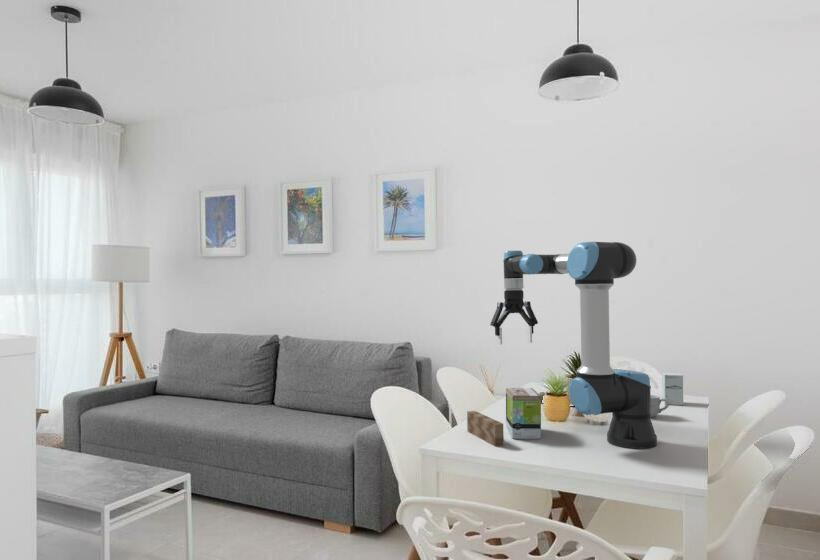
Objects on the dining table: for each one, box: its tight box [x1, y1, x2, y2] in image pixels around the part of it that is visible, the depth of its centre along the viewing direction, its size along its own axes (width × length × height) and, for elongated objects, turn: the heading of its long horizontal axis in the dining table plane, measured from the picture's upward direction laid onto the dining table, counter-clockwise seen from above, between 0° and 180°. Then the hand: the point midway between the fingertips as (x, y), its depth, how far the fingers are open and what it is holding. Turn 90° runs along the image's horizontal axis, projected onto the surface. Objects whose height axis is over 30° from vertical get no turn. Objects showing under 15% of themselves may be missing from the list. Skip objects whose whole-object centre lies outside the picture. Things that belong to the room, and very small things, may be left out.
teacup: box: [650, 394, 670, 418], centre depth 217 cm, size 14×11×8 cm
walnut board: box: [466, 410, 505, 447], centre depth 192 cm, size 20×3×7 cm, turn 21°
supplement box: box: [661, 371, 684, 406], centre depth 240 cm, size 7×7×13 cm
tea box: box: [505, 387, 542, 440], centre depth 197 cm, size 15×10×15 cm
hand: (514, 343), depth 225 cm, fingers open, 13 cm apart
